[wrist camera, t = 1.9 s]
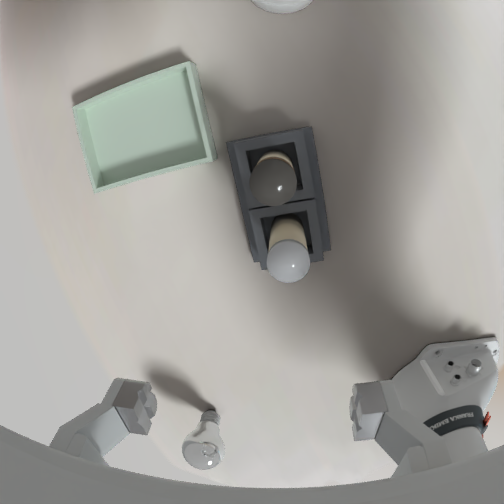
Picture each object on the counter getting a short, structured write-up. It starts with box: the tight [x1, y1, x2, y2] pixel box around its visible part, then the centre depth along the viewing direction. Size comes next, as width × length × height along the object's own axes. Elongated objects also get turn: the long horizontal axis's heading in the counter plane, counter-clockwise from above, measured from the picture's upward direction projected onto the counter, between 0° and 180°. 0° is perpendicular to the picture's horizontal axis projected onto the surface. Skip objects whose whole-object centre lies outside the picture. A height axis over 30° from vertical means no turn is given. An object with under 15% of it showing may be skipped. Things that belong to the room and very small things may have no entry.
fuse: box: [267, 213, 310, 283], centre depth 31 cm, size 4×4×9 cm
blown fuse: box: [249, 149, 297, 206], centre depth 29 cm, size 4×4×9 cm
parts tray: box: [72, 61, 217, 194], centre depth 32 cm, size 15×11×2 cm
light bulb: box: [182, 410, 225, 470], centre depth 46 cm, size 7×7×12 cm
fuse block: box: [226, 126, 331, 270], centre depth 33 cm, size 9×14×4 cm, turn 12°
